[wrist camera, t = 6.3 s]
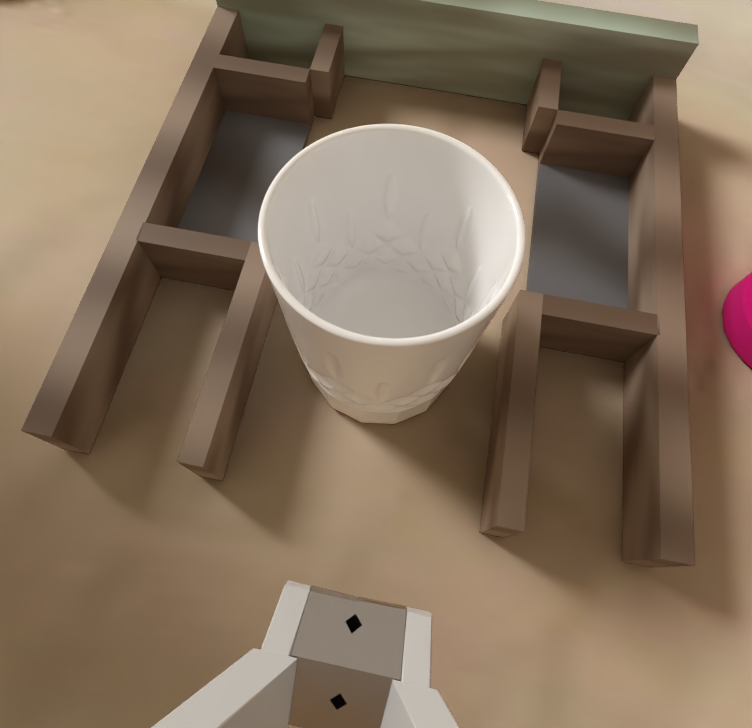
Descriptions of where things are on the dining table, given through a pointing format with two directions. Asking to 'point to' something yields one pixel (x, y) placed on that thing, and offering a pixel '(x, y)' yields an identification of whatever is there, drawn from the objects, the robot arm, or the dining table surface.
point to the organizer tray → (548, 242)
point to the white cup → (389, 262)
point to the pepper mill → (740, 319)
